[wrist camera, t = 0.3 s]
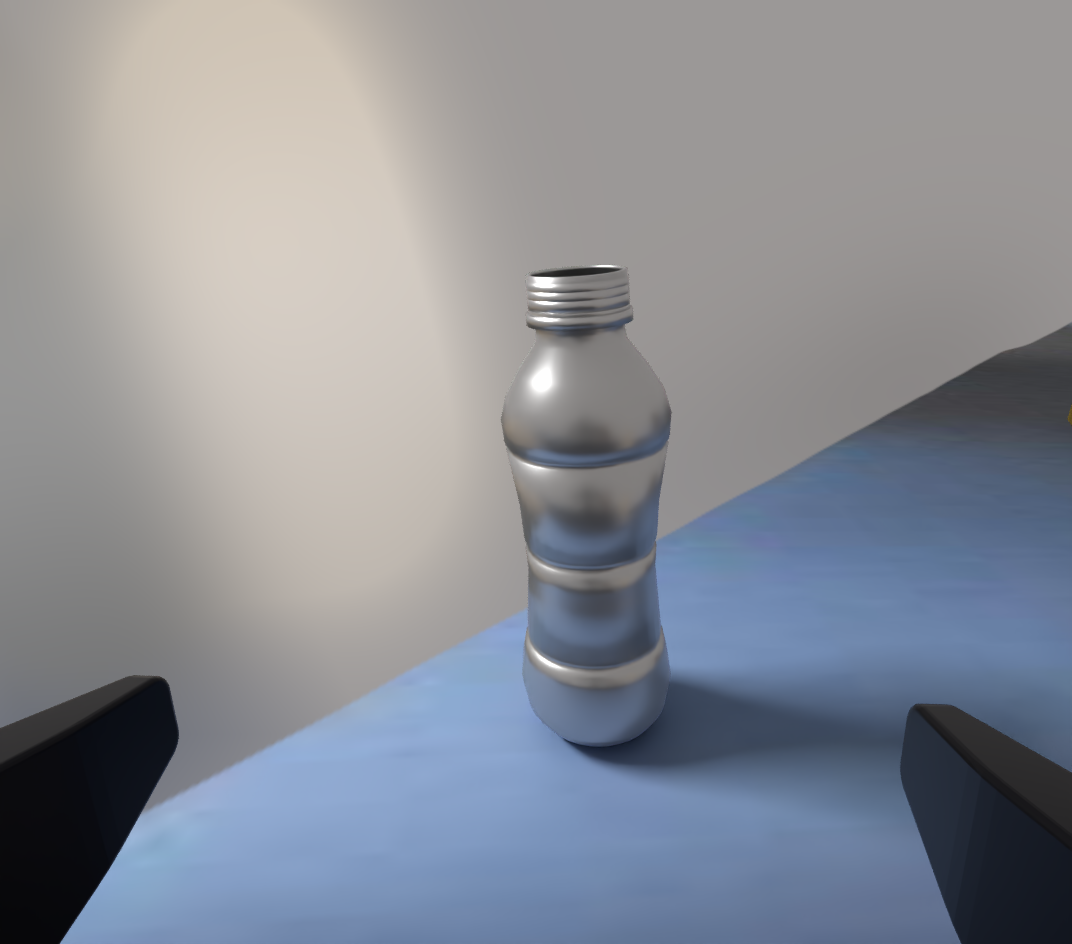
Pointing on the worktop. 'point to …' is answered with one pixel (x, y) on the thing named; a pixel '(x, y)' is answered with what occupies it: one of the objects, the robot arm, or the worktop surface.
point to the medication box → (1070, 416)
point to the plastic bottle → (589, 508)
